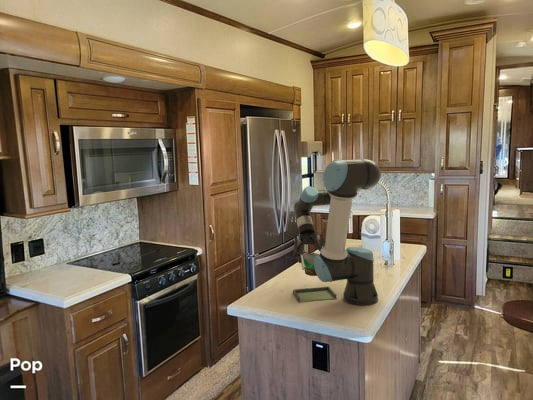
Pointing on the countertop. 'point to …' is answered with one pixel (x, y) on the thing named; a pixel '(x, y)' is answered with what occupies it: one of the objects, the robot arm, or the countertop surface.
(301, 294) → the green tray
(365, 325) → the countertop surface
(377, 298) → the robot arm
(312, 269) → the food container
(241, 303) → the countertop surface
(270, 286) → the countertop surface
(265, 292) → the countertop surface
